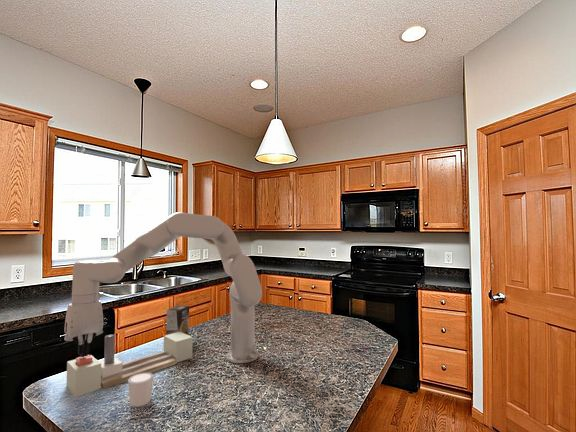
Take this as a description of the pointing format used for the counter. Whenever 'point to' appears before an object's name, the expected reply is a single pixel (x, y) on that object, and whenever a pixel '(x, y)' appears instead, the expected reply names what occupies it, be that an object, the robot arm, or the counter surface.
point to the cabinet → (178, 346)
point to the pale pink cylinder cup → (140, 389)
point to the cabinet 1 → (83, 377)
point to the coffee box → (177, 320)
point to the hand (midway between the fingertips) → (83, 355)
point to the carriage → (110, 358)
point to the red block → (83, 360)
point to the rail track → (139, 368)
